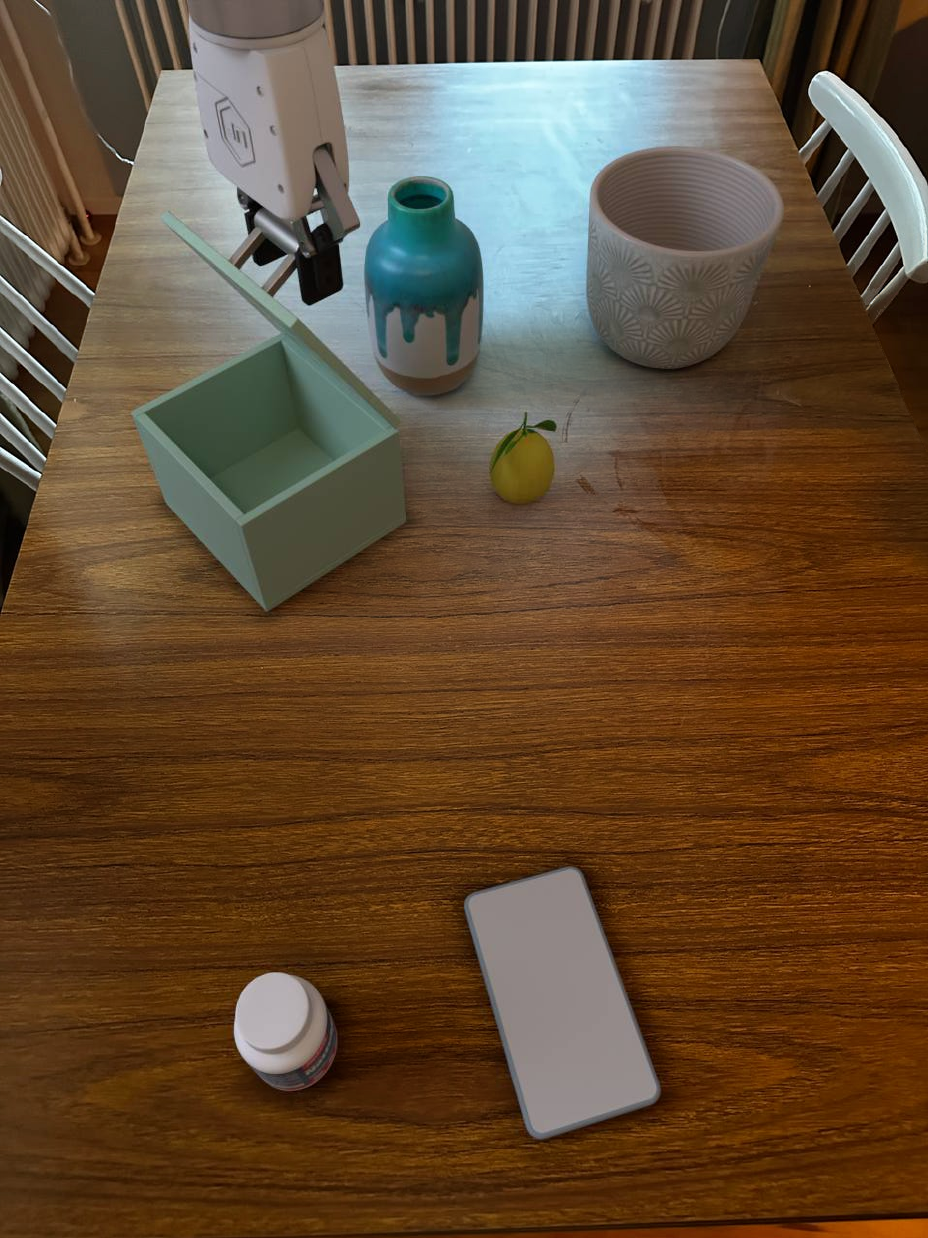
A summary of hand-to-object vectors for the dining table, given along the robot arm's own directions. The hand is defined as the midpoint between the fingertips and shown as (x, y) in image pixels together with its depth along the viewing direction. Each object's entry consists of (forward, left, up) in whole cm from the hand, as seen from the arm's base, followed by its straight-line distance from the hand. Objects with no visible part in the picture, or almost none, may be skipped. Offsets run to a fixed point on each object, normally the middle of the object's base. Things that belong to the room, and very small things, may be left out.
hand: (298, 274), depth 67 cm
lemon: (+10, -14, -22) cm, 27 cm away
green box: (-5, 0, -22) cm, 22 cm away
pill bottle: (-33, -33, -22) cm, 51 cm away
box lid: (-2, 0, -4) cm, 4 cm away
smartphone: (-20, -43, -22) cm, 52 cm away
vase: (+16, +3, -22) cm, 27 cm away
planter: (+36, -10, -22) cm, 43 cm away
